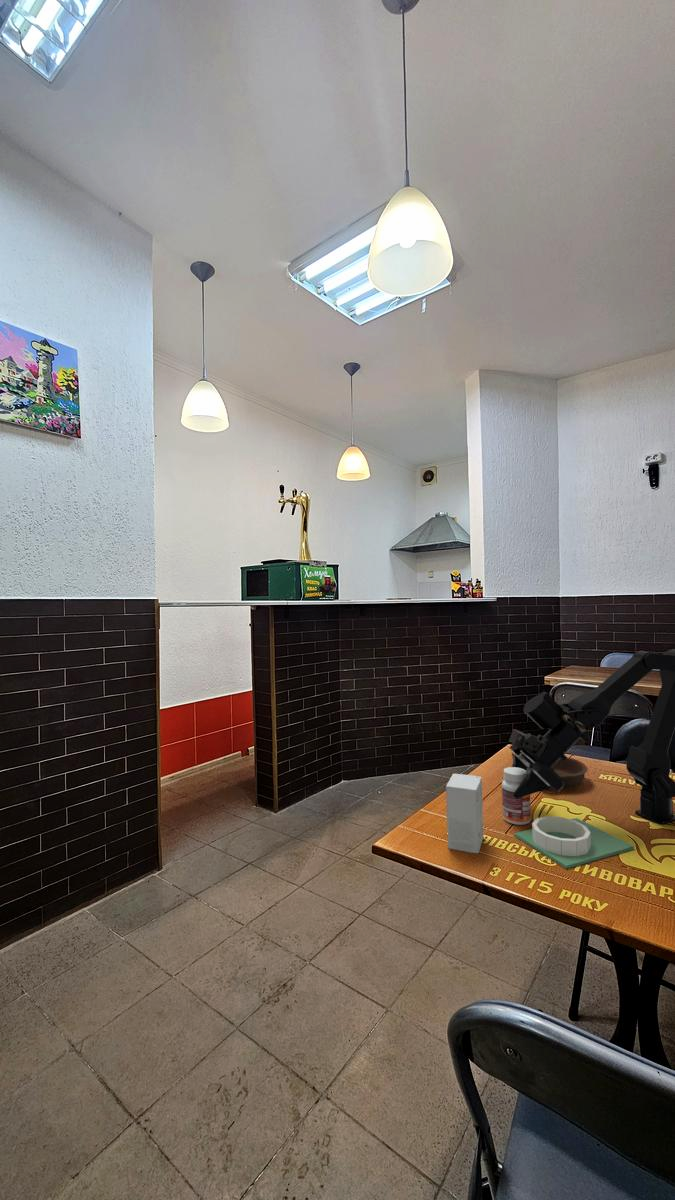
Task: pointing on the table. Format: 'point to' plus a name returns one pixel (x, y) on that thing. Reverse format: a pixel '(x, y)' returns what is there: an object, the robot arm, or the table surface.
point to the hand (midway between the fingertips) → (509, 791)
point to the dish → (569, 772)
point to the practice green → (571, 841)
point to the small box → (464, 813)
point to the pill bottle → (514, 807)
